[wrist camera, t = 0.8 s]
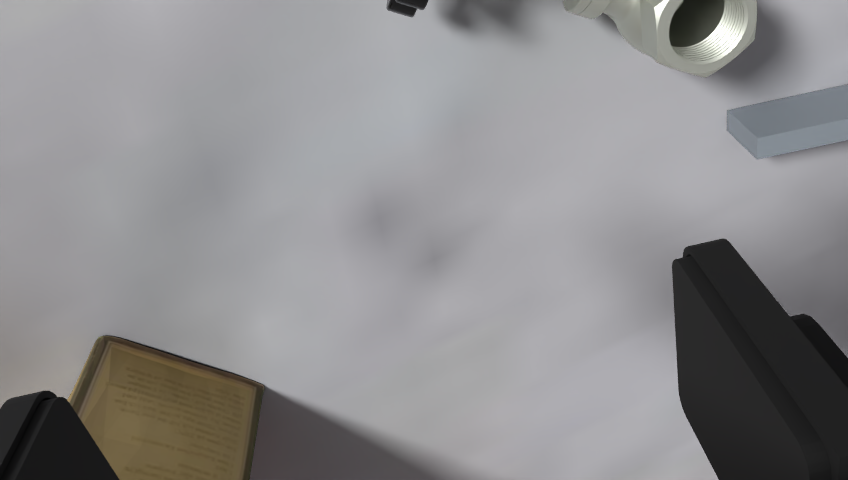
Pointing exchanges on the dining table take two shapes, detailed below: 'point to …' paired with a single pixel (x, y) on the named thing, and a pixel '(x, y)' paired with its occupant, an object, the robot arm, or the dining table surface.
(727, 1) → the valve
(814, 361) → the robot arm
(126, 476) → the food packaging
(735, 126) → the tray frame
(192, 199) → the dining table surface
